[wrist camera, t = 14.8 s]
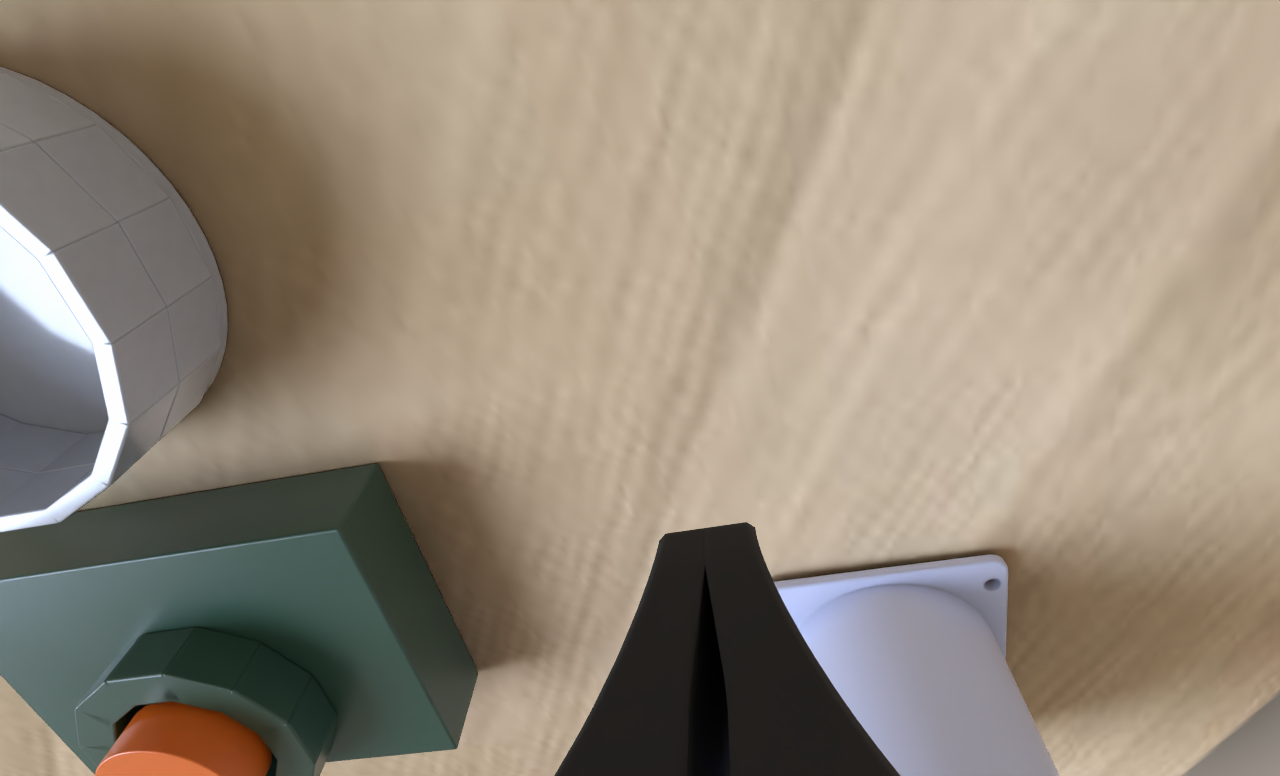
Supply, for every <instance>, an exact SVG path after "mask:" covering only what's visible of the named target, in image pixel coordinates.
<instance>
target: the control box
mask: <svg viewBox="0 0 1280 776" xmlns="http://www.w3.org/2000/svg"><path fill="white" fill-rule="evenodd" d="M0 675H1V676H2V677H3V678H4V679H5V680H6V681H7V682H8V683H9V684H10V685H11V687H12V688H13V689H14V690H15V691H16V692H17V693H18V694H19V695H20V696H21V697H22V698H23V699H24V700H25V701H26V702H27V703H28V705H29V706H30V707H31V708H32V709H33V710H34V711H35V712H36V713H37V714H38V715H39V716H40V717H41V718H42V719H43V720H44V721H45V723H46V724H47V725H48V726H49V727H50V728H51V729H52V730H53V731H54V732H55V733H56V734H57V735H58V736H59V737H60V738H61V739H62V741H63V742H64V743H65V744H66V745H67V746H68V747H69V748H70V749H71V750H72V751H73V752H74V753H75V754H76V755H77V756H78V757H79V758H80V760H81V761H82V762H83V763H84V764H85V765H86V766H87V767H88V768H89V769H90V770H91V771H92V772H93V773H94V774H95V772H96V769H97V767H98V766H99V764H100V763H101V761H102V760H103V758H104V757H105V756H106V754H107V753H108V752H109V750H110V749H111V747H112V746H113V745H114V743H115V742H116V740H117V739H118V738H119V736H120V735H121V734H122V732H123V731H124V729H125V728H126V727H127V725H128V724H129V722H130V721H131V720H132V718H133V717H134V716H135V714H136V713H137V712H138V711H139V710H140V709H142V708H143V707H145V706H147V705H149V704H154V703H162V702H171V701H174V702H178V703H183V704H187V705H191V706H196V707H200V708H205V709H209V710H213V711H218V712H222V713H223V714H225V715H227V716H228V717H230V718H232V719H234V720H235V721H237V722H239V723H240V724H242V725H244V726H246V727H247V728H249V729H251V730H253V731H254V732H256V733H258V735H259V736H260V737H261V739H262V740H263V741H264V743H265V744H266V745H267V747H268V748H269V749H270V751H271V752H272V763H271V766H270V768H269V771H268V772H267V774H266V776H320V773H321V771H322V769H323V767H324V764H325V762H333V761H342V760H352V759H362V758H372V757H382V756H392V755H402V754H412V753H422V752H432V751H442V750H452V749H457V747H458V743H459V740H460V736H461V733H462V729H463V726H464V722H465V718H466V715H467V711H468V708H469V704H470V701H471V697H472V694H473V690H474V686H475V683H476V679H477V676H478V671H477V669H476V667H475V665H474V663H473V661H472V659H471V657H470V655H469V652H468V650H467V648H466V646H465V644H464V642H463V640H462V638H461V636H460V634H459V632H458V629H457V627H456V625H455V623H454V621H453V619H452V617H451V615H450V613H449V611H448V609H447V607H446V604H445V602H444V600H443V598H442V596H441V594H440V592H439V590H438V588H437V586H436V584H435V582H434V579H433V577H432V575H431V573H430V571H429V569H428V567H427V565H426V563H425V561H424V559H423V556H422V554H421V552H420V550H419V548H418V546H417V544H416V542H415V540H414V538H413V536H412V534H411V531H410V529H409V527H408V525H407V523H406V521H405V519H404V517H403V515H402V513H401V511H400V509H399V506H398V504H397V502H396V500H395V498H394V496H393V494H392V492H391V490H390V488H389V486H388V484H387V481H386V479H385V477H384V475H383V473H382V471H381V469H380V467H379V465H378V464H370V465H364V466H358V467H352V468H346V469H339V470H333V471H327V472H321V473H315V474H309V475H303V476H296V477H290V478H284V479H278V480H272V481H266V482H260V483H253V484H247V485H241V486H235V487H229V488H223V489H217V490H210V491H204V492H198V493H192V494H186V495H180V496H174V497H167V498H161V499H155V500H149V501H143V502H137V503H131V504H124V505H118V506H112V507H106V508H100V509H94V510H88V511H81V512H75V513H73V514H72V515H70V516H69V517H67V518H66V519H65V520H63V521H62V522H59V523H55V524H49V525H43V526H37V527H31V528H24V529H18V530H12V531H6V532H0Z"/></svg>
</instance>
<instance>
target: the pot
mask: <svg viewBox="0 0 1280 776" xmlns="http://www.w3.org/2000/svg"><path fill="white" fill-rule="evenodd" d="M227 331H228V319H227V303H226V298H225V293H224V287H223V282H222V279H221V276H220V273H219V270H218V267H217V263H216V260H215V257H214V255H213V253H212V251H211V249H210V246H209V244H208V242H207V240H206V238H205V235H204V233H203V231H202V230H201V228H200V226H199V224H198V223H197V221H196V219H195V218H194V216H193V214H192V213H191V211H190V209H189V208H188V206H187V205H186V203H185V202H184V201H183V199H182V198H181V197H180V195H179V194H178V193H177V191H176V190H175V188H174V187H173V186H172V184H171V183H170V182H169V180H168V179H167V178H166V177H165V176H164V175H163V174H162V173H161V172H160V170H159V169H158V168H157V167H156V166H155V165H154V164H153V163H152V162H151V160H150V159H149V158H148V157H147V156H146V155H145V154H144V153H143V152H142V151H140V150H139V149H138V148H137V147H136V146H135V145H134V144H133V143H132V142H131V141H130V140H129V139H127V138H126V137H125V136H124V135H123V134H122V133H121V132H119V131H118V130H117V129H115V128H114V127H113V126H112V125H110V124H109V123H108V122H106V121H105V120H104V119H102V118H101V117H100V116H99V115H97V114H96V113H94V112H93V111H91V110H90V109H88V108H86V107H85V106H83V105H82V104H80V103H79V102H77V101H75V100H74V99H72V98H71V97H69V96H67V95H66V94H64V93H62V92H60V91H58V90H56V89H54V88H52V87H50V86H48V85H46V84H44V83H42V82H40V81H38V80H36V79H33V78H30V77H28V76H25V75H22V74H20V73H17V72H14V71H12V70H9V69H6V68H4V67H0V532H6V531H12V530H18V529H24V528H31V527H37V526H43V525H49V524H55V523H59V522H62V521H63V520H65V519H66V518H67V517H69V516H70V515H72V514H73V513H74V512H76V511H77V510H78V509H80V508H81V507H82V506H84V505H85V504H86V503H88V502H89V501H90V500H92V499H93V498H95V497H96V496H97V495H99V494H100V493H101V492H103V491H104V490H105V489H107V488H108V487H109V486H110V485H112V484H113V483H114V482H115V481H116V480H117V479H118V478H119V477H120V476H121V475H122V474H124V473H125V472H126V471H127V470H128V469H129V468H130V467H131V466H132V465H133V464H134V463H136V462H137V461H138V460H139V459H140V458H141V457H142V456H143V455H144V454H145V453H146V452H147V451H149V450H150V449H151V448H152V447H153V446H154V445H155V444H156V443H157V442H158V441H159V440H161V439H162V438H163V437H164V436H165V435H166V434H167V433H168V432H169V431H170V430H171V429H173V428H174V427H175V426H176V425H177V424H178V423H179V422H180V421H181V420H182V419H183V418H184V417H186V416H187V415H188V414H189V413H190V412H191V411H192V410H193V409H194V408H195V407H196V406H198V405H199V403H200V402H201V400H202V397H203V396H204V394H205V393H206V392H207V390H208V389H209V388H210V386H211V385H212V383H213V381H214V379H215V377H216V375H217V373H218V371H219V369H220V366H221V363H222V359H223V356H224V352H225V349H226V340H227Z"/></svg>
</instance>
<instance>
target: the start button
mask: <svg viewBox="0 0 1280 776" xmlns="http://www.w3.org/2000/svg"><path fill="white" fill-rule="evenodd" d="M271 763H272V752H271V751H270V749H269V748H268V747H267V745H266V744H265V743H264V741H263V740H262V739H261V737H260V736H259V735H258V733H256V732H254V731H253V730H251V729H249V728H247V727H246V726H244V725H242V724H240V723H239V722H237V721H235V720H234V719H232V718H230V717H228V716H227V715H225V714H223V713H222V712H218V711H213V710H209V709H205V708H200V707H196V706H191V705H187V704H183V703H178V702H174V701H171V702H162V703H154V704H149V705H147V706H145V707H143V708H142V709H140V710H139V711H138V712H137V713H136V714H135V716H134V717H133V718H132V720H131V721H130V722H129V724H128V725H127V727H126V728H125V729H124V731H123V732H122V734H121V735H120V736H119V738H118V739H117V740H116V742H115V743H114V745H113V746H112V747H111V749H110V750H109V752H108V753H107V754H106V756H105V757H104V758H103V760H102V761H101V763H100V764H99V766H98V767H97V769H96V772H95V776H266V774H267V772H268V771H269V768H270V766H271Z"/></svg>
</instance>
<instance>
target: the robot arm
mask: <svg viewBox="0 0 1280 776" xmlns="http://www.w3.org/2000/svg"><path fill="white" fill-rule="evenodd" d="M990 579H994V580H992V581H989V582H987V581H988V580H990ZM1007 600H1008V567H1007V565H1006V563H1005V561H1004V559H1003V558H1001V557H1000V556H998V555H990V554H989V555H981V556H973V557H965V558H957V559H949V560H942V561H934V562H926V563H918V564H910V565H902V566H894V567H886V568H879V569H871V570H863V571H855V572H847V573H839V574H831V575H823V576H816V577H808V578H800V579H792V580H784V581H776V582H774V581H773V579H772V577H771V575H770V573H769V571H768V568H767V566H766V563H765V561H764V558H763V555H762V553H761V550H760V547H759V543H758V540H757V536H756V530H755V527H753V526H752V525H750V524H748V523H747V522H745V523H738V524H731V525H724V526H717V527H710V528H703V529H696V530H689V531H682V532H675V533H668V534H665V535H664V536H663V537H662V539H661V540H660V541H659V545H658V549H657V553H656V557H655V560H654V563H653V567H652V570H651V573H650V576H649V579H648V582H647V585H646V587H645V590H644V593H643V596H642V598H641V601H640V604H639V607H638V609H637V612H636V614H635V616H634V619H633V621H632V624H631V626H630V629H629V631H628V633H627V636H626V638H625V641H624V643H623V645H622V648H621V650H620V652H619V655H618V657H617V659H616V661H615V663H614V665H613V667H612V670H611V672H610V674H609V676H608V678H607V680H606V682H605V684H604V686H603V688H602V690H601V692H600V694H599V696H598V698H597V700H596V702H595V705H594V707H593V708H592V710H591V712H590V714H589V716H588V718H587V720H586V722H585V723H584V725H583V727H582V729H581V731H580V733H579V734H578V736H577V738H576V740H575V742H574V743H573V745H572V747H571V749H570V750H569V752H568V754H567V755H566V757H565V759H564V760H563V762H562V764H561V766H560V767H559V769H558V771H557V772H556V774H555V776H1060V775H1059V773H1058V771H1057V769H1056V767H1055V765H1054V763H1053V760H1052V758H1051V756H1050V754H1049V752H1048V750H1047V748H1046V746H1045V743H1044V741H1043V739H1042V737H1041V735H1040V733H1039V731H1038V729H1037V726H1036V724H1035V722H1034V720H1033V718H1032V716H1031V714H1030V712H1029V709H1028V707H1027V705H1026V703H1025V701H1024V699H1023V697H1022V695H1021V692H1020V690H1019V688H1018V686H1017V684H1016V682H1015V680H1014V678H1013V675H1012V673H1011V671H1010V669H1009V667H1008V665H1007V663H1006V631H1007Z"/></svg>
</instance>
